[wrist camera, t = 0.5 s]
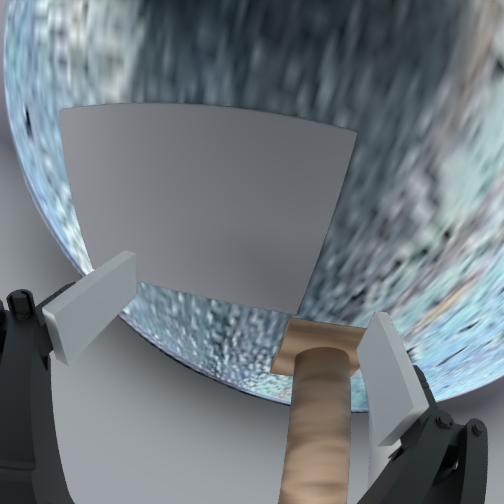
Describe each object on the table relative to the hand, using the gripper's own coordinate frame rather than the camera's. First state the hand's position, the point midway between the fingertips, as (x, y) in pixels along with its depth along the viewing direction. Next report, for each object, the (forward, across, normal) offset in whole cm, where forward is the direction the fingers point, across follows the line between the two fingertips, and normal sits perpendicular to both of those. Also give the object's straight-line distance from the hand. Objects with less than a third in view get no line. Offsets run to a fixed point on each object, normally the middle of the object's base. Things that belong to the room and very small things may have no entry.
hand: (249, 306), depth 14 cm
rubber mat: (+13, -9, 0) cm, 16 cm away
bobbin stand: (+20, +11, -17) cm, 29 cm away
